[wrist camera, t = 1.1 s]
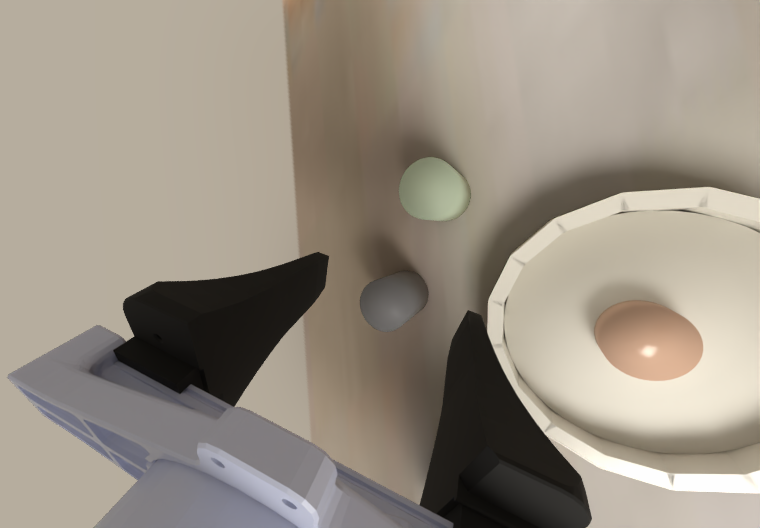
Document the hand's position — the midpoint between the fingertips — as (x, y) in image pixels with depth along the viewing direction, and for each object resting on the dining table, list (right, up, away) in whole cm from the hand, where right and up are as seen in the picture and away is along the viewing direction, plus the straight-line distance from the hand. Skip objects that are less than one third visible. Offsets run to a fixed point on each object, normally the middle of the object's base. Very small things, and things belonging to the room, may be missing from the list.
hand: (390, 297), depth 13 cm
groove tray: (+16, -3, +4) cm, 17 cm away
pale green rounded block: (+5, +7, +9) cm, 13 cm away
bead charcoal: (+2, -1, +12) cm, 12 cm away
